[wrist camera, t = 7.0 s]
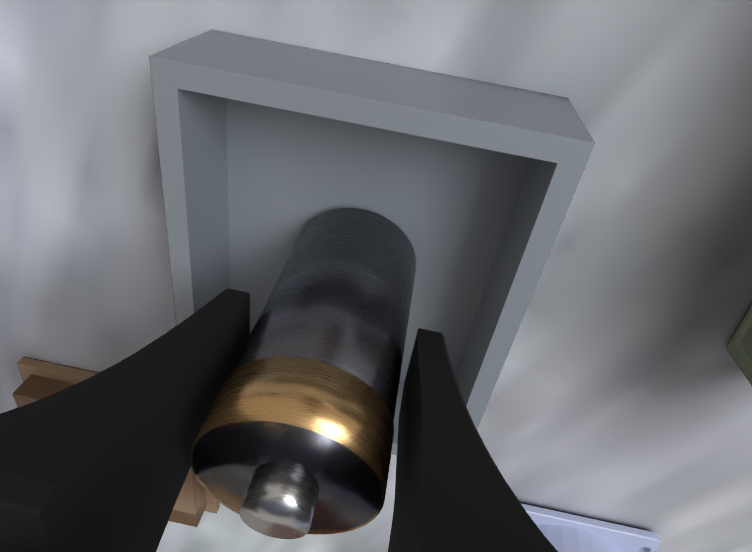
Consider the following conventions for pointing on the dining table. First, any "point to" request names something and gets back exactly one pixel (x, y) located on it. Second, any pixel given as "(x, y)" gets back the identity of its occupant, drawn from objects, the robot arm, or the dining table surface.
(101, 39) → the dining table surface
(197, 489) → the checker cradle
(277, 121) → the cell bin
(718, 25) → the dining table surface
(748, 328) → the handheld radio
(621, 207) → the dining table surface
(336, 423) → the battery cell
